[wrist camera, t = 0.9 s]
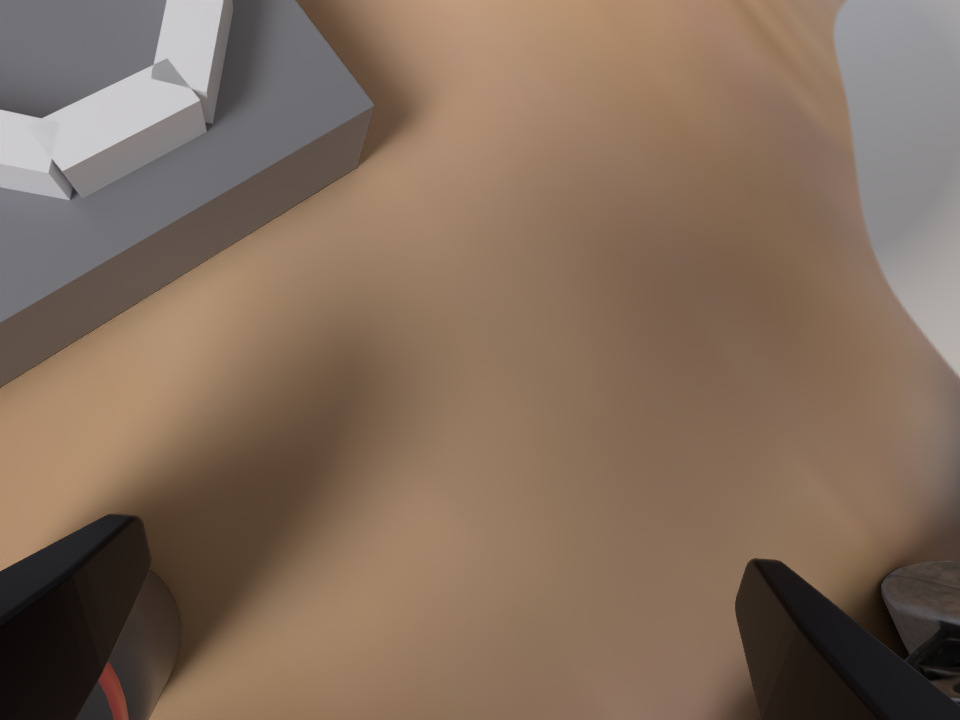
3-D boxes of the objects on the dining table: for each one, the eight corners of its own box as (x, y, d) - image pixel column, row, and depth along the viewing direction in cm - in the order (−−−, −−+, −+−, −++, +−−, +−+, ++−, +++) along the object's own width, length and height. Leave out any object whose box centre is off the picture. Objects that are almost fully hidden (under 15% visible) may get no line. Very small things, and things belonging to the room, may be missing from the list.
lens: (51, 792, 16) (-144, 1086, 9) (-81, 646, 16) (-407, 819, 8) (221, 646, 18) (181, 784, 10) (105, 510, 17) (-24, 552, 10)
